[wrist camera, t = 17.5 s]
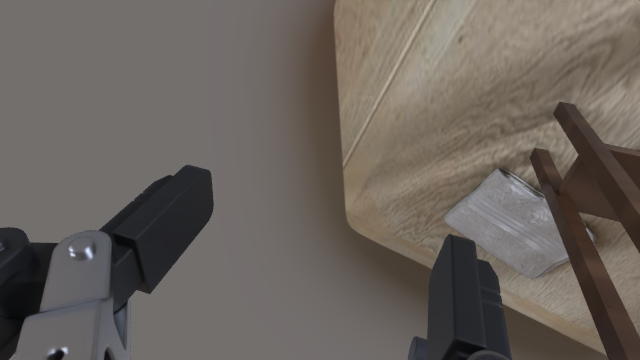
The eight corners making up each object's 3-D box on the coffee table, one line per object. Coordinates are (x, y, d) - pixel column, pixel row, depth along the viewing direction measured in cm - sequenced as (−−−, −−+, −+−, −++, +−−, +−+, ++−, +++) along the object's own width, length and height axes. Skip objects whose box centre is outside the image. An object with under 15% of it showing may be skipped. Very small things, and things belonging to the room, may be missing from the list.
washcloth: (532, 272, 58) (536, 287, 55) (439, 214, 56) (439, 226, 54) (601, 229, 51) (609, 244, 48) (497, 161, 49) (500, 173, 47)
